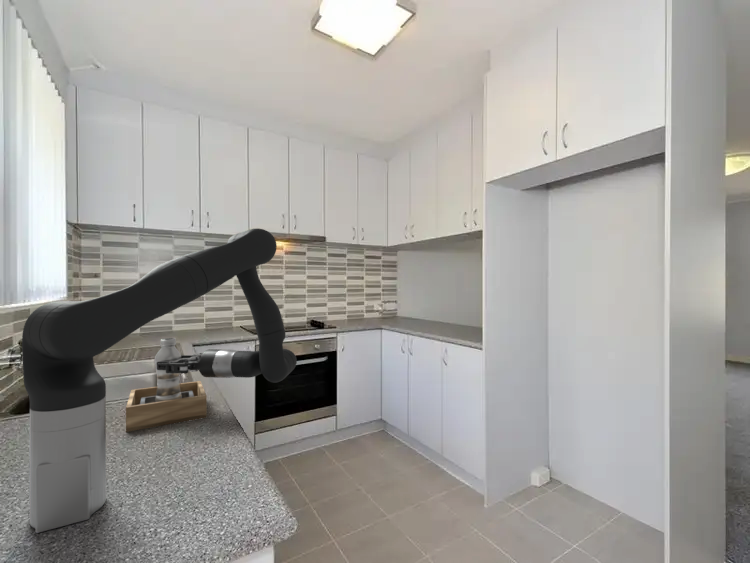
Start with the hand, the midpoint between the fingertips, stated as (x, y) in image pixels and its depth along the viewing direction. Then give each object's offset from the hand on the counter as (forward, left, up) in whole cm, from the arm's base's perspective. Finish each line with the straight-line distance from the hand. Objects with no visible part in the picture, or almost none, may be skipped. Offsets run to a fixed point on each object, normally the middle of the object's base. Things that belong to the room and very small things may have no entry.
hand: (169, 362), depth 100 cm
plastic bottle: (0, 0, -14) cm, 14 cm away
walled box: (0, 0, -14) cm, 15 cm away
